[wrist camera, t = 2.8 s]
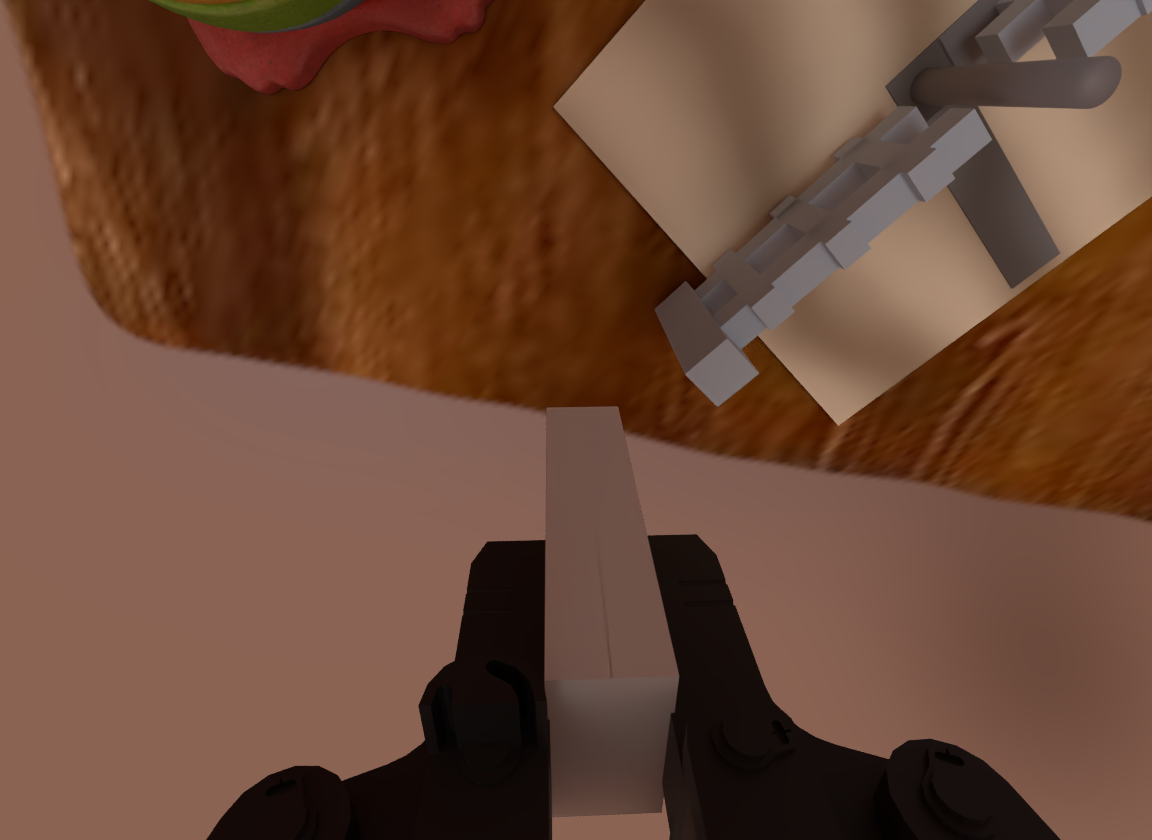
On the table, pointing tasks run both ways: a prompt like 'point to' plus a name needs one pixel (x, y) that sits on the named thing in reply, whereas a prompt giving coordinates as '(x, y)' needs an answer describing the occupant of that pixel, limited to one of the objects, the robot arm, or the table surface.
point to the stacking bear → (311, 31)
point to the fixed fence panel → (1073, 80)
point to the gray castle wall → (813, 241)
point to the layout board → (804, 153)
